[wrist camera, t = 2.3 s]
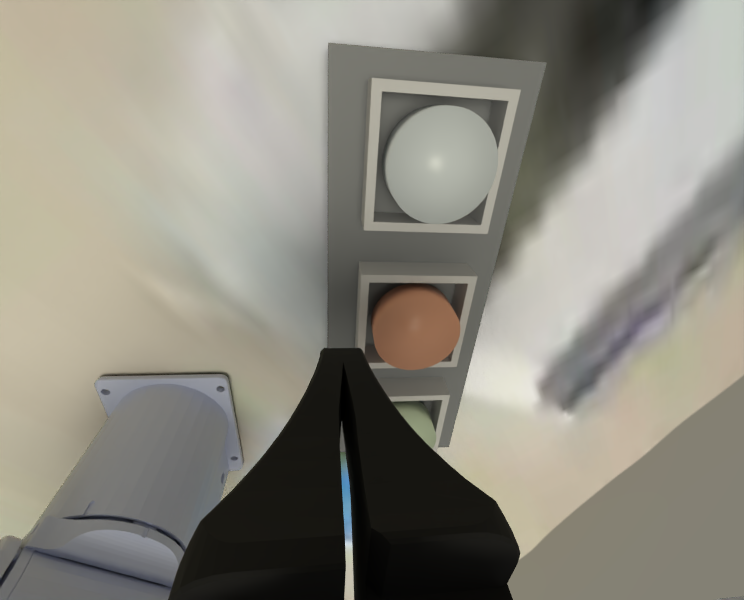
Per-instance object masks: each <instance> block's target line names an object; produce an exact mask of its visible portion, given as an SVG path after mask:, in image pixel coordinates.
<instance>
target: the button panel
mask: <svg viewBox="0 0 744 600" xmlns="http://www.w3.org/2000/svg"><path fill="white" fill-rule="evenodd" d="M545 67H546V62H535V61H524V60H512V59H501V58H490V57H479V56H468V55H457V54H446V53H435V52H424V51H413V50H402V49H391V48H380V47H369V46H358V45H347V44H336V43H328V348H361V349H362V350H363V352H364V355H365V357H366V359H367V362H368V364H369V366H370V368H371V369H372V371H373V373H374V375H375V377H376V378H377V380H378V382H379V383H380V385H381V386H382V388H383V390H384V391H385V393H386V394H387V396H388V397H389V399H390V400H391V402H394V401H419V402H421V403H422V404H423V405H425V406H426V408H427V409H428V411H429V414H430V417H431V420H432V423H433V426H434V430H435V433H436V443H435V445H434V447H433V450H434V451H435V452H436V453H437V449H438V447H449V444H450V440H451V436H452V432H453V428H454V424H455V420H456V416H457V412H458V408H459V404H460V401H461V397H462V393H463V389H464V385H465V381H466V377H467V373H468V369H469V365H470V361H471V357H472V353H473V350H474V346H475V342H476V338H477V334H478V330H479V326H480V322H481V318H482V314H483V310H484V306H485V302H486V298H487V295H488V291H489V287H490V283H491V279H492V275H493V271H494V267H495V263H496V259H497V255H498V251H499V247H500V243H501V240H502V236H503V232H504V228H505V224H506V220H507V216H508V212H509V208H510V204H511V200H512V196H513V192H514V188H515V185H516V181H517V177H518V173H519V169H520V165H521V161H522V157H523V153H524V149H525V145H526V141H527V137H528V133H529V130H530V126H531V122H532V118H533V114H534V110H535V106H536V102H537V98H538V94H539V90H540V86H541V82H542V78H543V75H544V71H545ZM430 105H451V106H458V107H463V108H466V109H469V110H471V111H473V112H474V113H476V114H477V115H479V116H480V117H481V118H482V119H483V120H484V121H485V122H486V123H487V125H488V126H489V127H490V129H491V131H492V133H493V135H494V137H495V140H496V144H497V149H498V167H497V172H496V176H495V179H494V182H493V184H492V187H491V189H490V190H489V192H488V194H487V195H486V197H485V198H484V200H483V201H482V202H481V203H480V204H479V205H478V206H477V207H476V208H475V209H474V210H473V211H472V212H470V213H469V214H467V215H466V216H464V217H462V218H460V219H458V220H456V221H453V222H449V223H444V224H429V223H424V222H421V221H418V220H416V219H414V218H412V217H410V216H409V215H408V214H406V213H405V212H404V211H403V210H402V209H401V208H400V207H399V205H398V204H397V202H396V201H395V199H394V198H393V196H392V195H391V193H390V191H389V189H388V188H387V185H386V182H385V179H384V175H383V154H384V150H385V146H386V143H387V141H388V138H389V136H390V135H391V133H392V131H393V130H394V128H395V127H396V126H397V124H398V123H399V122H400V121H401V120H402V119H403V118H405V117H406V116H407V115H408V114H410V113H411V112H413V111H415V110H417V109H419V108H422V107H425V106H430ZM409 283H423V284H428V285H430V286H433V287H435V288H437V289H438V290H440V291H441V292H442V293H443V294H444V295H445V296H446V298H447V299H448V301H449V303H450V305H451V306H452V308H453V310H454V312H455V313H456V315H457V317H458V319H459V322H460V337H459V340H458V342H457V344H456V346H455V348H454V349H453V351H452V352H451V353H450V354H449V355H448V356H447V357H446V358H445V359H443V360H442V361H440V362H439V363H437V364H435V365H433V366H430V367H428V368H424V369H419V370H404V369H399V368H396V367H393V366H391V365H389V364H388V363H386V362H385V361H384V360H383V359H382V358H381V357H380V356H379V354H378V352H377V350H376V348H375V344H374V338H373V333H372V327H371V316H372V312H373V309H374V307H375V305H376V304H377V302H378V301H379V300H380V298H381V297H382V296H383V295H384V294H386V293H387V292H388V291H390V290H392V289H393V288H395V287H398V286H400V285H404V284H409ZM340 452H346V451H345V443H344V436H343V428H342V422H341V436H340Z"/></svg>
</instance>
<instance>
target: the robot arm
mask: <svg viewBox="0 0 744 600" xmlns="http://www.w3.org/2000/svg"><path fill="white" fill-rule="evenodd" d="M219 386H222V387H224V388H220V387H219ZM95 388H96V390H97V392H98V395H99V397H100V399H101V402H102V404H103V406H104V409H105V411H106V413H107V416H108V419H107V421H106V422H105V424H104V425H103V427H102V428H101V429H100V431H99V432H98V434H97V435H96V437H95V438H94V440H93V441H92V443H91V444H90V445H89V447H88V448H87V450H86V451H85V453H84V454H83V456H82V457H81V458H80V460H79V461H78V463H77V464H76V466H75V467H74V469H73V470H72V472H71V473H70V474H69V476H68V477H67V479H66V480H65V482H64V483H63V485H62V486H61V487H60V489H59V490H58V492H57V493H56V495H55V496H54V498H53V499H52V501H51V502H50V503H49V505H48V506H47V508H46V509H45V511H44V512H43V514H42V515H41V517H40V518H39V519H38V521H37V522H36V524H35V525H34V527H33V528H32V530H31V531H30V532H29V533H28V534H27V535H26V536H25V537H24V538H23V539H22V540H21V539H20V538H17V537H14V536H5V537H3V538H2V539H1V540H0V600H344V590H345V571H346V561H345V533H344V517H343V500H342V481H341V461H340V436H341V422H342V428H343V436H344V443H345V451H346V459H347V467H348V474H349V482H350V494H351V516H352V543H353V572H354V600H513V599H512V596H511V593H510V591H509V588H508V585H507V582H508V580H509V579H510V577H511V575H512V573H513V571H514V569H515V567H516V565H517V563H518V560H519V556H520V550H519V546H518V544H517V541H516V539H515V537H514V534H513V532H512V530H511V528H510V526H509V524H508V522H507V520H506V518H505V517H504V515H503V513H502V511H501V509H500V508H499V506H498V504H497V502H496V501H495V500H494V499H492V498H491V497H490V496H488V495H487V494H485V493H484V492H483V491H481V490H480V489H479V488H477V487H476V486H475V485H473V484H472V483H471V482H469V481H468V480H466V479H465V478H464V477H463V476H462V475H460V474H459V473H458V472H457V471H456V470H455V469H453V468H452V467H451V466H450V465H449V464H448V463H447V462H445V461H444V460H443V459H442V458H441V457H440V456H439V455H438V454H437V453H436V452H435V451H434V450H433V449H432V448H431V447H430V446H429V445H428V444H427V443H426V442H425V441H424V440H423V439H422V438H421V437H420V436H419V435H418V434H417V433H416V432H415V431H414V429H413V428H412V427H411V426H410V425H409V424H408V422H407V421H406V420H405V419H404V417H403V416H402V415H401V414H400V412H399V411H398V410H397V408H396V407H395V406H394V404H393V403H392V402H391V400H390V399H389V397H388V396H387V394H386V393H385V391H384V390H383V388H382V386H381V385H380V383H379V382H378V380H377V378H376V377H375V375H374V373H373V371H372V369H371V368H370V366H369V364H368V362H367V359H366V357H365V355H364V352H363V350H362V349H361V348H324V349H323V350H322V351H321V353H320V358H319V361H318V364H317V367H316V370H315V372H314V375H313V377H312V379H311V381H310V383H309V386H308V388H307V390H306V392H305V394H304V396H303V397H302V399H301V401H300V403H299V404H298V406H297V408H296V410H295V411H294V413H293V415H292V416H291V418H290V419H289V421H288V423H287V424H286V426H285V427H284V428H283V430H282V431H281V433H280V434H279V436H278V437H277V438H276V440H275V441H274V442H273V444H272V445H271V446H270V448H269V449H268V450H267V451H266V453H265V454H264V455H263V456H262V458H261V459H260V460H259V461H258V462H257V464H256V465H255V466H254V467H253V468H252V469H251V470H250V471H249V472H248V474H247V475H246V476H245V477H244V478H243V479H242V480H241V481H240V482H239V484H238V485H237V486H236V487H235V488H234V489H233V490H232V491H231V492H230V493H229V494H228V495H227V496H226V497H225V498H224V499H223V500H222V501H221V497H222V494H223V490H224V486H225V483H226V479H227V475H228V471H236V470H240V469H242V467H243V457H242V451H241V446H240V440H239V434H238V429H237V423H236V418H235V412H234V406H233V401H232V395H231V390H230V384H229V379H228V377H227V376H225V375H223V374H197V375H147V376H103V377H99V378H98V379H97V380H96V382H95ZM106 389H107V390H106ZM108 390H109V391H108ZM220 501H221V502H220ZM717 600H744V596H740V597H731V598H722V599H717Z"/></svg>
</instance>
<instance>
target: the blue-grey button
mask: <svg viewBox="0 0 744 600" xmlns="http://www.w3.org/2000/svg"><path fill="white" fill-rule="evenodd" d="M497 167H498V149H497V144H496V140H495V137H494V135H493V133H492V131H491V129H490V127H489V126H488V125H487V123H486V122H485V121H484V120H483V119H482V118H481V117H480V116H479V115H477V114H476V113H474V112H473V111H471V110H469V109H466V108H463V107H458V106H451V105H430V106H425V107H422V108H419V109H417V110H415V111H413V112H411V113H410V114H408V115H407V116H406V117H405V118H403V119H402V120H401V121H400V122H399V123H398V124H397V126H396V127H395V128H394V130H393V131H392V133H391V135H390V136H389V138H388V141H387V143H386V146H385V150H384V154H383V175H384V179H385V182H386V185H387V188H388V189H389V191H390V193H391V195H392V196H393V198H394V199H395V201H396V202H397V204H398V205H399V207H400V208H401V209H402V210H403V211H404V212H405V213H406V214H408V215H409V216H410V217H412V218H414V219H416V220H418V221H421V222H424V223H429V224H444V223H449V222H453V221H456V220H458V219H460V218H462V217H464V216H466V215H467V214H469V213H470V212H472V211H473V210H474V209H475V208H476V207H477V206H478V205H479V204H480V203H481V202H482V201H483V200H484V198H485V197H486V195H487V194H488V192H489V190H490V189H491V187H492V184H493V182H494V179H495V176H496V172H497Z"/></svg>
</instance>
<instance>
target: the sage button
mask: <svg viewBox="0 0 744 600" xmlns="http://www.w3.org/2000/svg"><path fill="white" fill-rule="evenodd" d="M392 403H393V404H394V406H395V407H396V408H397V410H398V411H399V412H400V414H401V415H402V416H403V417H404V419H405V420H406V421H407V422H408V424H409V425H410V426H411V427H412V428H413V429H414V431H415V432H416V433H417V434H418V435H419V436H420V437H421V438H422V439H423V440H424V441H425V442H426V443H427V444H428V445H429V446H430V447H431V448H432V449H433V447H434V445H435V443H436V433H435V430H434V426H433V423H432V420H431V417H430V414H429V411H428V409H427V408H426V406H425V405H423V404H422V403H421V402H419V401H394V402H392Z"/></svg>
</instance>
